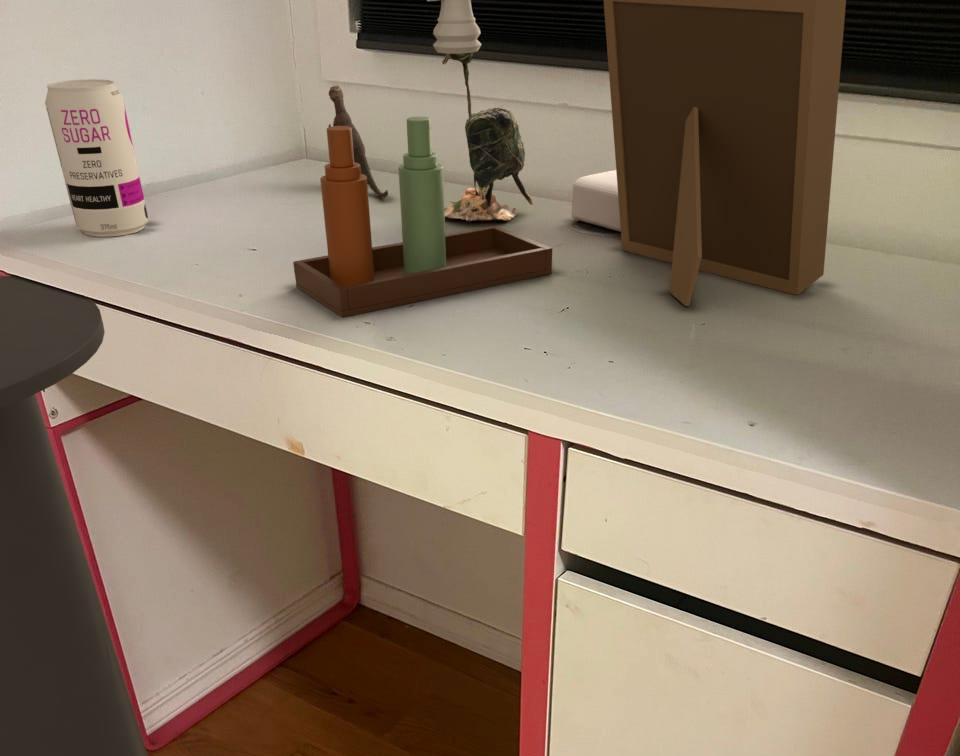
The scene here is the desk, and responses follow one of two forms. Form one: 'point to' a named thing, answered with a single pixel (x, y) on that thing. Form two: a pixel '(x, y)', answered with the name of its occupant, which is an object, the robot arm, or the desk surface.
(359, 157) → the dinosaur model
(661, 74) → the photo frame
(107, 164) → the supplement can
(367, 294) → the tray
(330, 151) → the amber bottle
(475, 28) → the rook chess piece
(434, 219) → the sage bottle
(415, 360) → the desk surface
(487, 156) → the plant with pod
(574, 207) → the charger
